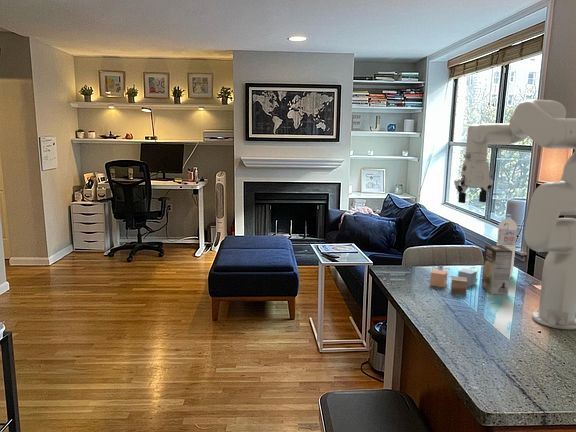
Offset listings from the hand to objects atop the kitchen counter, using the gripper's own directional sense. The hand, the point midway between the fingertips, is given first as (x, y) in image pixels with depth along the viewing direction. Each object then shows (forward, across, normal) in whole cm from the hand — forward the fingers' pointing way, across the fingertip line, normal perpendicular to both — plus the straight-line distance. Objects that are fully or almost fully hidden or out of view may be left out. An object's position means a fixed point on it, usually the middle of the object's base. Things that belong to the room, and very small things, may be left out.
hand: (472, 202), depth 172 cm
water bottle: (+31, +18, -1) cm, 35 cm away
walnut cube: (+31, -14, -13) cm, 36 cm away
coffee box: (+31, 0, -15) cm, 34 cm away
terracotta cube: (+31, -16, -4) cm, 35 cm away
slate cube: (+31, -4, -6) cm, 31 cm away
